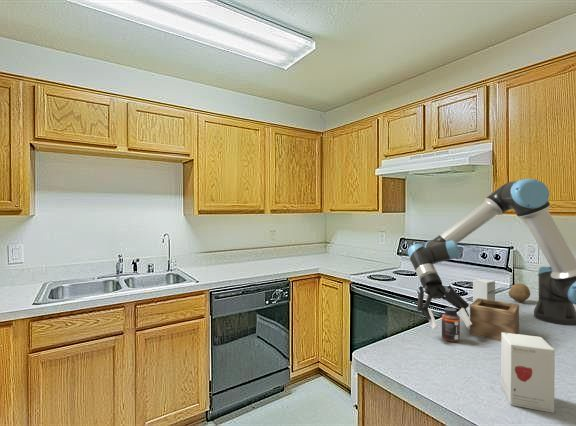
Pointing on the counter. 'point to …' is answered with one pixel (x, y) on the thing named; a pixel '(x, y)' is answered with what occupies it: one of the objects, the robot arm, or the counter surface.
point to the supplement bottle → (450, 325)
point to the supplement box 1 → (483, 289)
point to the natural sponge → (519, 292)
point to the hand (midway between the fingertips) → (452, 326)
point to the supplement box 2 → (527, 371)
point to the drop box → (493, 318)
